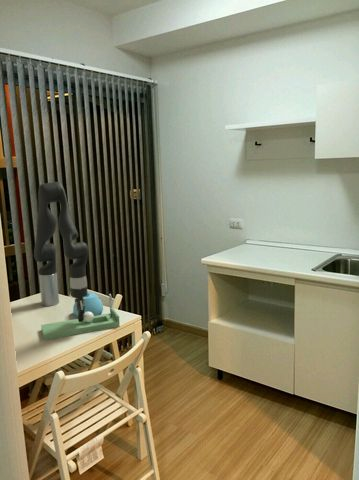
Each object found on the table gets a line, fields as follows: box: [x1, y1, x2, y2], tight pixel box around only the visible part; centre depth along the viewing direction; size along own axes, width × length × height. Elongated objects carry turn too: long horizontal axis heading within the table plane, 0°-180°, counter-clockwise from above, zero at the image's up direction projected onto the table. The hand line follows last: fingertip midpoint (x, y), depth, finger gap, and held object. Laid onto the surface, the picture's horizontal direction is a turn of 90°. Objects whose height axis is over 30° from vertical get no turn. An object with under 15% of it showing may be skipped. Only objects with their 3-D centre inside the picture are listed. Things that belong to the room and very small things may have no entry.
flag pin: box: [108, 293, 113, 318], centre depth 194 cm, size 4×1×12 cm, turn 24°
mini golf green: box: [40, 307, 120, 341], centre depth 191 cm, size 12×34×5 cm, turn 114°
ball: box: [83, 312, 94, 322], centre depth 191 cm, size 5×5×5 cm
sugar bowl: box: [72, 291, 104, 318], centre depth 208 cm, size 15×15×12 cm
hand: (80, 321), depth 190 cm, fingers closed
